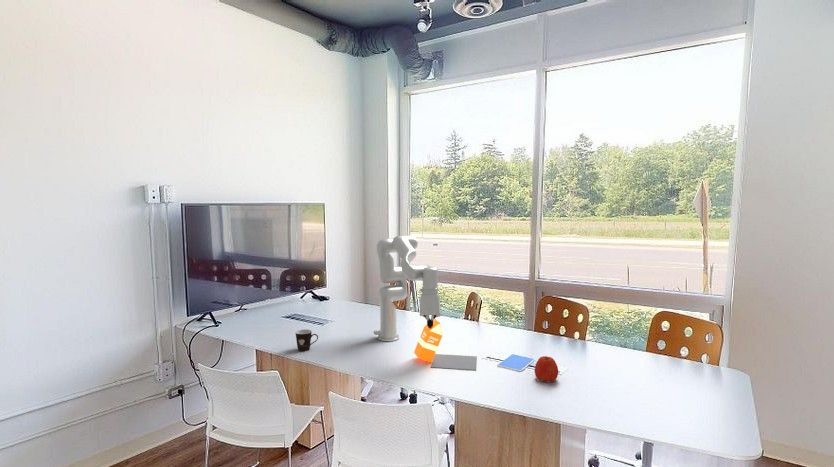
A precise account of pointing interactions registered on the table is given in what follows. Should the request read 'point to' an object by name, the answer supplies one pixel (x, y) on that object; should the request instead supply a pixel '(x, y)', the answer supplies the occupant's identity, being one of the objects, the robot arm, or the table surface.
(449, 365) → the mat
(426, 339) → the orange juice
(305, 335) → the coffee mug
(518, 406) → the table surface
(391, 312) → the robot arm
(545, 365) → the apple
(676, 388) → the table surface
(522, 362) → the tablet computer
